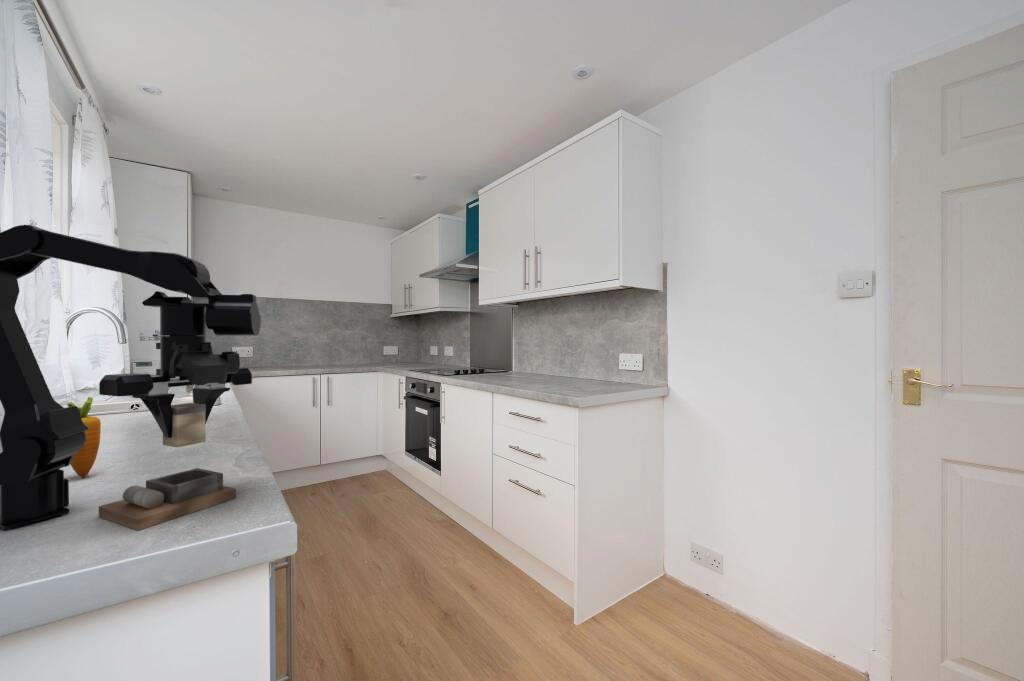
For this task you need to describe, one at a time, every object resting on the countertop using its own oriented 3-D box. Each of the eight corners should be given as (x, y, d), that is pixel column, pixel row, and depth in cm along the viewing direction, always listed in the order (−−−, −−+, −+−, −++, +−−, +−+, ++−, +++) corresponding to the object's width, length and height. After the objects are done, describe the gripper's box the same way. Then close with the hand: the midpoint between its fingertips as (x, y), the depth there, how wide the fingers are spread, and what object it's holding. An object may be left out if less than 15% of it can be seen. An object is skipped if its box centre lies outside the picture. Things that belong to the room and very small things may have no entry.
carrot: (66, 483, 77) (65, 400, 77) (62, 478, 80) (61, 398, 80) (104, 476, 81) (103, 397, 81) (98, 471, 84) (97, 395, 84)
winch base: (138, 530, 58) (137, 500, 58) (98, 516, 62) (98, 489, 62) (236, 498, 69) (235, 473, 69) (196, 488, 74) (196, 465, 74)
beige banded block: (176, 447, 65) (176, 408, 65) (162, 444, 67) (161, 406, 67) (206, 441, 69) (205, 404, 69) (191, 439, 70) (191, 402, 70)
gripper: (137, 335, 56) (138, 455, 56) (272, 335, 73) (273, 428, 73) (97, 336, 61) (97, 446, 61) (232, 336, 77) (232, 422, 77)
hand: (184, 434), depth 68 cm, fingers closed on beige banded block, 4 cm apart
